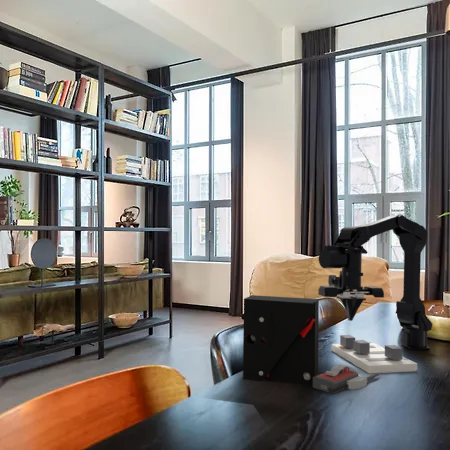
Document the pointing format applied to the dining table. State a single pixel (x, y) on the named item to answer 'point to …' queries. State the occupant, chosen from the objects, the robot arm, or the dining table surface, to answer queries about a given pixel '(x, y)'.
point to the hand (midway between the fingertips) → (350, 320)
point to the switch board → (374, 360)
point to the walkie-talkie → (340, 379)
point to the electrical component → (280, 339)
